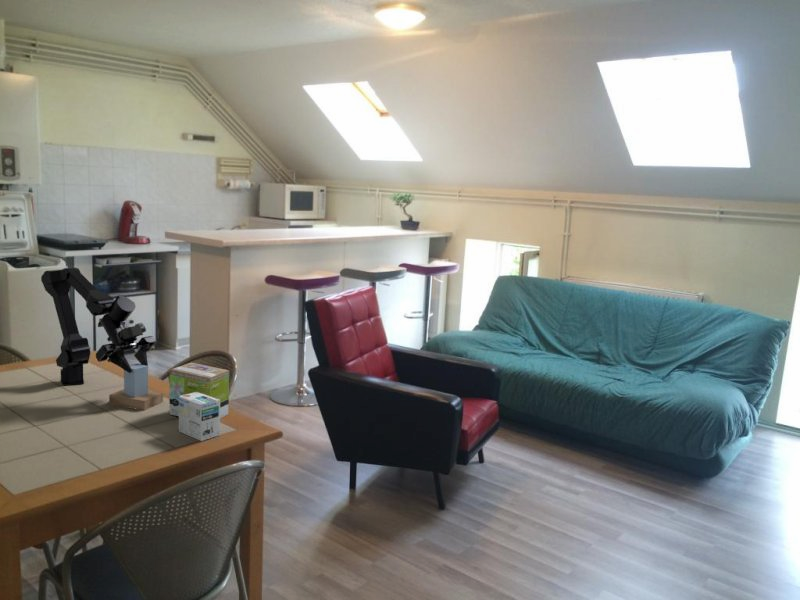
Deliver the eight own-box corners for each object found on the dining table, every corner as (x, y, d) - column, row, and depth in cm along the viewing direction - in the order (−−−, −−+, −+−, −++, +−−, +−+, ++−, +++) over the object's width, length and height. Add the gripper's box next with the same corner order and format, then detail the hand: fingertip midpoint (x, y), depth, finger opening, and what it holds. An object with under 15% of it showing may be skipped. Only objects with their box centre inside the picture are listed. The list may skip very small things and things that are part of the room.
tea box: (168, 415, 200) (168, 368, 198) (190, 406, 209) (190, 361, 207) (208, 425, 195) (209, 376, 192) (229, 415, 204) (230, 368, 201)
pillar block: (137, 390, 212) (137, 363, 210) (148, 393, 209) (147, 366, 208) (124, 394, 208) (123, 366, 206) (134, 397, 205) (134, 369, 204)
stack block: (128, 397, 215) (128, 387, 215) (162, 403, 212) (162, 392, 211) (109, 405, 207) (109, 394, 206) (144, 411, 203) (144, 401, 202)
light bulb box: (220, 435, 187) (221, 399, 185) (201, 442, 182) (201, 404, 180) (197, 425, 193) (197, 390, 191) (177, 431, 188) (177, 395, 186)
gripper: (101, 319, 198) (124, 361, 195) (152, 311, 214) (175, 350, 211) (85, 340, 204) (108, 382, 200) (136, 331, 220) (158, 369, 216)
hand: (139, 370), depth 207 cm, fingers open, 6 cm apart
